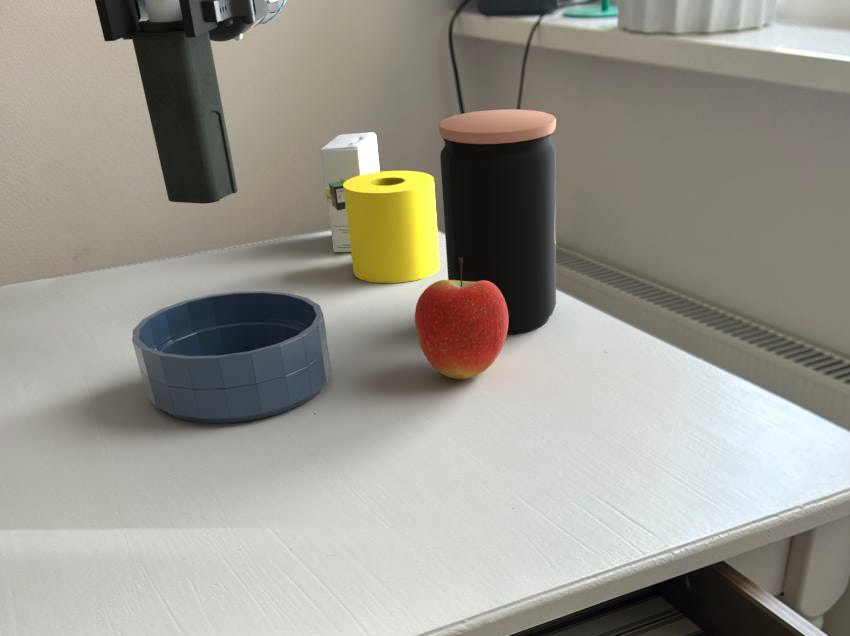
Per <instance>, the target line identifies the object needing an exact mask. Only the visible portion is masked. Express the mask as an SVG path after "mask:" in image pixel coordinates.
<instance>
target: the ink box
mask: <svg viewBox="0 0 850 636" xmlns="http://www.w3.org/2000/svg"><path fill="white" fill-rule="evenodd" d="M320 159H321V165H322V172H323V179H324V180H323V181H324V187H325V194H326V202H327V210H328V216H329V224H330V231H331V233H330V234H331V240H332V249H333V252H334V253H351V245H350V237H349V229H348V221H347V213H346V204H345V196H344V188H343V184H344V182H345V181H347V180H348V179H351V178H353V177H356V176H359V175H364V174H368V173H375V172H381V170H380V161H379V149H378V139H377V134H376V133H375V132H372V131H370V132H369V131H368V132H356V133H343V134H338V135H336V136H335V137H334V138H333V139H331V140H330V141H329V142H328V143H327V144H326V145H324V146H322V147H321V148H320Z"/></svg>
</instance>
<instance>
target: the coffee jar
mask: <svg viewBox="0 0 850 636" xmlns="http://www.w3.org/2000/svg"><path fill="white" fill-rule="evenodd" d="M437 125H438V133H439V135H440V137H441V138H442V139H443V141H444V146H443V147H442V149H441V150H440V155H439V158H440V160H439V161H440V174H441V175H440V176H441V190H442V192H441V193H442V205H443V207H442V208H443V221H444V222H443V223H444V236H445V237H444V238H445V252H446V253H445V254H446V266H447V280H459V281H461V275H460V261H459V257H461V258H463V266H462V281H470V282H477V281H482V280H484V281H489V282H491V283H493V284H494V285H495V286H497V288H498V289H499V290H500V292H501V293H502V295H503V297H504V299H505V302H506V305H507V310H508V331H507V335H514V334H515V335H516V334H522V333H526V332H531V331H533V330H535V329H538V328H541V327H542V326H543V325H545V324H546V323H547V322H548V321H549V319H550V317H551V316H552V315H553V313H554V310H555V307H556V305H557V148H556V146H555V144H554V142H552V135H553V133H554V132H555V130H556V128H557V127H556V126H557V118H556V116H554V115H553V114H550V113H548V112H544V111H539V110H533V109H532V110H531V109H515V108H514V109H489V110H488V109H487V110H478V111H471V112H464V113H460V114H455V115H452V116H448V117H447V118H443V119H441V121H440V122H439V123H438V124H437Z"/></svg>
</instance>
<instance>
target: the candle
mask: <svg viewBox="0 0 850 636" xmlns="http://www.w3.org/2000/svg"><path fill="white" fill-rule="evenodd" d="M145 4H146V8H147V13H148V18H149V19H148V20H147V21H140V22H139V25H140V31H135V32H132V33H131V36H132V39H131V40H132V44H133V48H134V53H135V59H136V61H137V62H136V63H137V66H138V70H139V71H138V72H139V76H140V81H141V85H142V89H143V93H144V98H145V103H146V106H147V110H148V115H149V119H150V124H151V127H152V134H153V137H154V141H155V146H156V150H157V156H158V160H159V165H160V169H161V172H162V177H163V182H164V186H165V190H166V195H167V199H168V201H169V202H172V203H185V204H204V205H205V204H213V203H217V202H221V200H222V199H224V198H226V197H229V196H230V195H232V194H236V193H238V191H239V190H238V189H239V188H238V185H237V180H236V179H237V178H236V173H235V168H234V163H233V162H234V161H233V157H232V152H231V145H230V141H229V135H228V130H227V125H226V118H225V113H224V107H223V103H222V96H221V91H220V86H219V82H218V76H217V70H216V65H215V64H216V63H215V60H214V53H213V49H212V42H211V40H210V37H209V31H208V32H206V33H203V34H201V35H199V36H197V37H186V34H185V29H184V24H183V19H182V13H181V8H180V3H179V0H145Z"/></svg>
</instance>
